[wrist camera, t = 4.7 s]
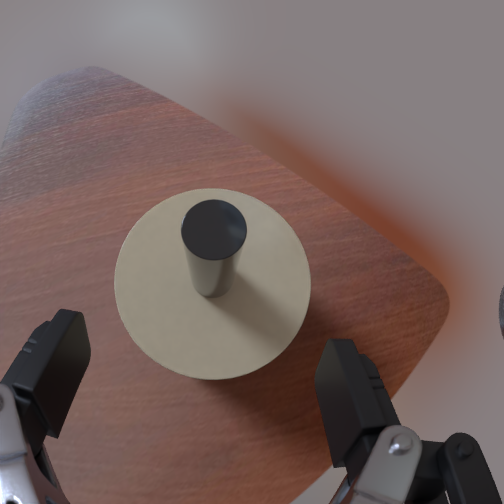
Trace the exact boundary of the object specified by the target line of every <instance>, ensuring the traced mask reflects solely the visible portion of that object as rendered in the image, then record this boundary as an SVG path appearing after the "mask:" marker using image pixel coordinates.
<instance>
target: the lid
mask: <svg viewBox="0 0 504 504" xmlns="http://www.w3.org/2000/svg"><path fill="white" fill-rule="evenodd" d="M114 283H115V297H116V303H117V307H118V310H119V314H120V317H121V319H122V321H123V323H124V326H125V328H126V330H127V331H128V333H129V334H130V336H131V337H132V339H133V340H134V342H135V343H136V344H137V345H138V346H139V347H140V349H141V350H142V351H143V352H144V353H146V354H147V355H148V356H149V357H150V358H151V359H152V360H154V361H155V362H157V363H158V364H160V365H161V366H163V367H165V368H167V369H169V370H171V371H173V372H175V373H178V374H181V375H184V376H187V377H192V378H197V379H204V380H221V379H231V378H235V377H239V376H243V375H246V374H248V373H251V372H253V371H256V370H258V369H260V368H261V367H263V366H265V365H267V364H268V363H270V362H271V361H272V360H274V359H275V358H276V357H277V356H279V355H280V354H281V353H282V352H283V351H284V350H285V349H286V348H287V347H288V346H289V344H290V343H291V342H292V340H293V339H294V338H295V336H296V335H297V333H298V331H299V329H300V327H301V326H302V324H303V321H304V318H305V316H306V313H307V310H308V305H309V301H310V292H311V277H310V270H309V264H308V260H307V257H306V254H305V251H304V249H303V246H302V244H301V242H300V240H299V238H298V237H297V235H296V234H295V232H294V230H293V229H292V228H291V227H290V225H289V224H288V223H287V222H286V220H285V219H283V218H282V217H281V216H280V215H279V214H278V213H277V212H276V211H275V210H273V209H272V208H271V207H269V206H268V205H266V204H265V203H263V202H261V201H259V200H258V199H256V198H253V197H251V196H249V195H246V194H243V193H240V192H236V191H232V190H226V189H213V188H210V189H198V190H192V191H187V192H184V193H181V194H178V195H175V196H173V197H170V198H168V199H166V200H164V201H163V202H161V203H159V204H158V205H156V206H155V207H153V208H152V209H151V210H149V211H148V212H147V213H146V214H145V215H144V216H143V217H142V218H141V219H140V220H139V221H138V222H137V223H136V224H135V226H134V227H133V228H132V230H131V231H130V232H129V234H128V236H127V238H126V240H125V241H124V243H123V246H122V248H121V251H120V253H119V256H118V260H117V264H116V270H115V278H114Z"/></svg>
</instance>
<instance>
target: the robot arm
mask: <svg viewBox="0 0 504 504" xmlns="http://www.w3.org/2000/svg"><path fill="white" fill-rule="evenodd" d="M90 356H91V348H90V343H89V339H88V334H87V329H86V325H85V320H84V316H83V314H82V313H81V312H77V311H72V310H66V309H60V310H59V311H58V312H57V313H56V315H55V316H54V318H53V319H52V321H51V322H50V321H45V322H44V323H43V324H41V325H40V326H39V327H37V328H36V329H35V330H34V331H33V333H32V334H31V336H30V337H29V339H28V342H26V343H25V345H24V346H23V348H22V351H20V352H19V354H18V355H17V357H16V358H15V360H14V361H13V363H12V364H11V366H10V368H9V369H8V371H7V373H6V374H5V376H4V377H3V379H2V381H1V382H0V504H70V502H69V501H68V500H67V498H66V496H65V495H64V493H63V491H62V489H61V486H60V484H59V482H58V479H57V477H56V474H55V472H54V469H53V467H52V464H51V462H50V459H49V456H48V453H47V451H46V448H45V445H44V443H43V442H44V439H45V437H46V435H48V436H51V437H54V438H57V439H58V437H59V434H60V432H61V429H62V426H63V424H64V421H65V419H66V416H67V414H68V411H69V409H70V406H71V404H72V401H73V399H74V397H75V394H76V392H77V389H78V387H79V385H80V383H81V380H82V378H83V376H84V373H85V371H86V369H87V367H88V364H89V361H90ZM315 390H316V394H317V398H318V402H319V406H320V410H321V415H322V419H323V423H324V427H325V432H326V436H327V440H328V445H329V449H330V454H331V458H332V462H333V467H334V468H337V467H346V470H347V475H346V476H345V478H344V479H343V481H342V483H341V485H340V486H339V488H338V490H337V491H336V493H335V495H334V496H333V498H332V499H331V501H330V503H329V504H449V503H448V500H447V497H446V494H445V491H447V493H448V497H449V500H450V503H451V504H502V501H501V498H500V496H499V493H498V490H497V487H496V485H495V482H494V480H493V478H492V475H491V472H490V470H489V467H488V465H487V463H486V460H485V458H484V455H483V453H482V451H481V449H480V446H479V444H478V443H477V441H476V440H475V439H474V438H473V437H471V436H470V435H468V434H466V433H455V434H453V435H451V436H450V437H449V438H448V439H447V440H446V441H445V442H433V441H424V440H420V438H419V436H418V435H417V434H416V433H415V432H414V431H413V430H411V429H410V428H408V427H405V426H401V424H400V421H399V419H398V417H397V414H396V412H395V409H394V407H393V405H392V402H391V400H390V398H389V395H388V393H387V391H386V389H384V384H383V382H382V379H380V375H379V373H378V370H377V368H376V366H375V364H374V363H373V362H372V361H371V360H370V359H369V358H368V357H367V356H366V355H365V354H358V351H357V349H356V346H355V344H354V342H353V340H351V339H328V340H327V342H326V345H325V348H324V350H323V353H322V356H321V359H320V361H319V364H318V367H317V369H316V373H315Z"/></svg>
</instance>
